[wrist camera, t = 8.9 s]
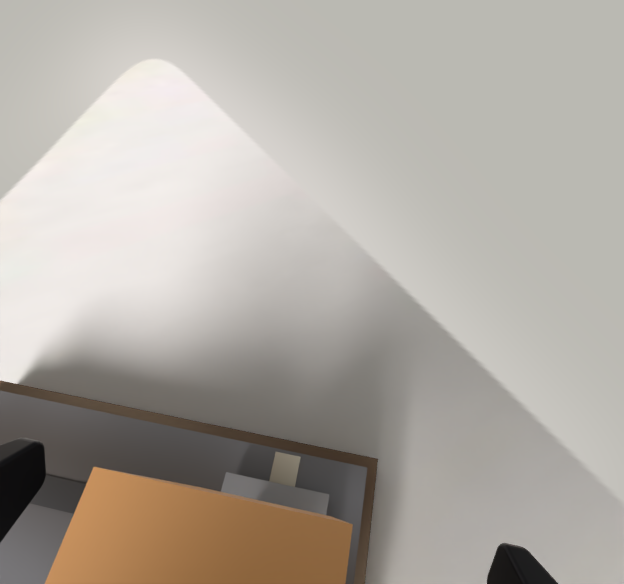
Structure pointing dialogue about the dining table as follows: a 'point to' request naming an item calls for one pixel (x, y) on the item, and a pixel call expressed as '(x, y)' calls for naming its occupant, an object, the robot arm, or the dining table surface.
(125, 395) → the dining table surface
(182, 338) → the dining table surface
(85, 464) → the fader console
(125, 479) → the cap
